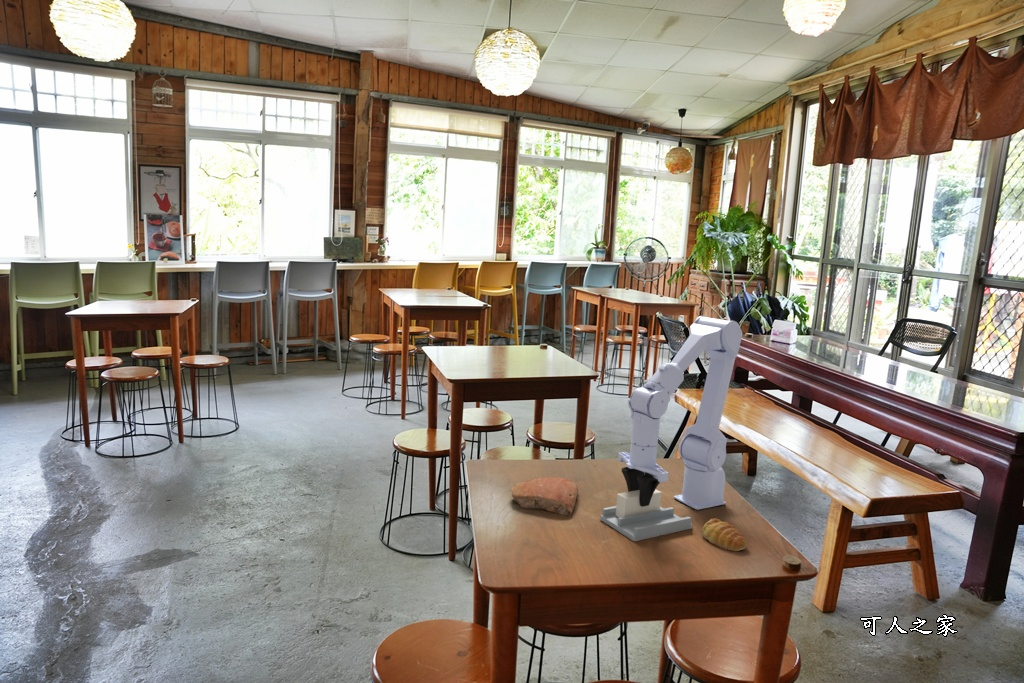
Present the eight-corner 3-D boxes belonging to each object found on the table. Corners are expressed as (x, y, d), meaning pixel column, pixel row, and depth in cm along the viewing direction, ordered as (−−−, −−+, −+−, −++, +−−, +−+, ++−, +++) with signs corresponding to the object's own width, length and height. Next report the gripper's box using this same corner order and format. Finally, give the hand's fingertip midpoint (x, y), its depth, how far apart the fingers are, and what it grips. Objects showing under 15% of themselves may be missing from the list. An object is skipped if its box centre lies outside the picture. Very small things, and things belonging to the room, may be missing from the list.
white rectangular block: (650, 508, 156) (652, 487, 155) (659, 513, 154) (661, 492, 153) (615, 515, 151) (617, 493, 150) (624, 520, 149) (625, 498, 148)
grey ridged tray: (656, 508, 159) (657, 498, 159) (692, 528, 149) (693, 517, 149) (600, 519, 151) (600, 508, 151) (634, 541, 141) (635, 530, 141)
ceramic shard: (521, 465, 169) (581, 481, 166) (515, 490, 169) (575, 507, 167) (510, 478, 154) (576, 495, 152) (504, 505, 155) (569, 524, 152)
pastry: (754, 549, 141) (756, 532, 141) (731, 556, 138) (732, 538, 137) (719, 531, 149) (721, 514, 149) (696, 537, 146) (698, 520, 145)
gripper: (609, 435, 154) (604, 493, 156) (652, 455, 142) (646, 517, 144) (633, 432, 158) (629, 489, 160) (678, 451, 145) (672, 512, 147)
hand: (639, 502), depth 152 cm, fingers closed on white rectangular block, 3 cm apart
